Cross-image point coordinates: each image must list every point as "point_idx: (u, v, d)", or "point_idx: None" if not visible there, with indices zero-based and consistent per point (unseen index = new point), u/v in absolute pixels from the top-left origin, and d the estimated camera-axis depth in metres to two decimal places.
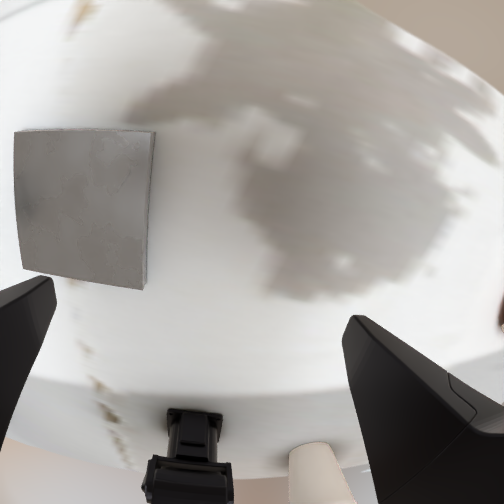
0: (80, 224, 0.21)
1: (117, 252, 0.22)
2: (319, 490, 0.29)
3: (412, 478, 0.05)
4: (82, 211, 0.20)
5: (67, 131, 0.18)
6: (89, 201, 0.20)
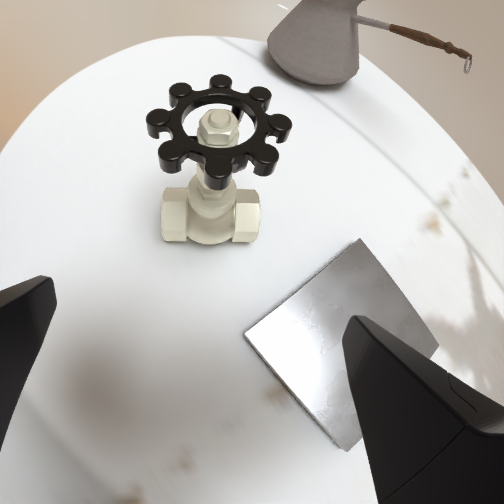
0: None
1: None
2: None
3: (412, 478, 0.05)
4: None
5: (399, 289, 0.23)
6: None
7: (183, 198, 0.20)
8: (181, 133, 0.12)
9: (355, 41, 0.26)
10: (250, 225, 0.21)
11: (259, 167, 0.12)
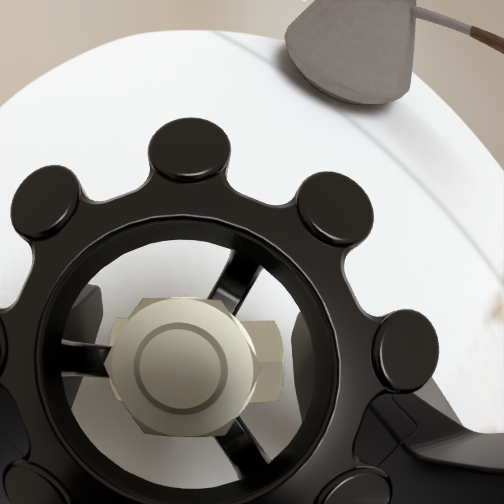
0: None
1: None
2: None
3: None
4: None
5: (458, 421, 0.13)
6: None
7: None
8: (47, 436, 0.02)
9: (412, 44, 0.17)
10: (266, 393, 0.11)
11: None
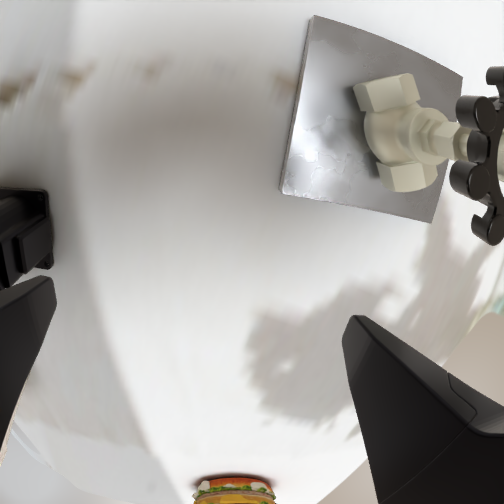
0: None
1: (333, 170, 0.19)
2: None
3: (412, 478, 0.05)
4: None
5: None
6: None
7: (409, 100, 0.13)
8: None
9: None
10: (400, 182, 0.16)
11: (481, 225, 0.08)
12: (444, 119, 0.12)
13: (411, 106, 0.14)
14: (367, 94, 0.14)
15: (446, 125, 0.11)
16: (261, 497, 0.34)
